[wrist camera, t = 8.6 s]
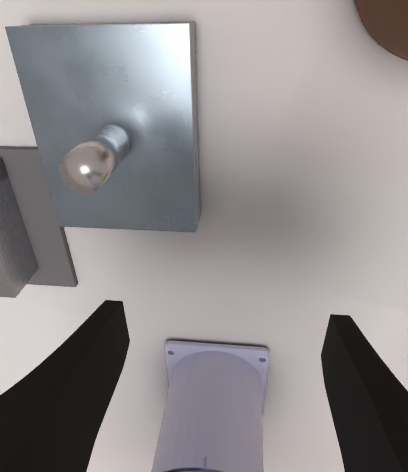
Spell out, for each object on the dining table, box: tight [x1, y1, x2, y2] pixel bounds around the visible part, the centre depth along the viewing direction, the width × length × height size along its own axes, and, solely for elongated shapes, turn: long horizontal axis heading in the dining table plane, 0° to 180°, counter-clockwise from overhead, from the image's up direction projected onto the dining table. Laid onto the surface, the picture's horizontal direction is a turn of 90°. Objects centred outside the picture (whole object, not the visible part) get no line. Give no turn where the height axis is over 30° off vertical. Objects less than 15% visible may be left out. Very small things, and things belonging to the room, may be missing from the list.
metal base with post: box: [5, 22, 200, 232], centre depth 17 cm, size 10×8×6 cm
